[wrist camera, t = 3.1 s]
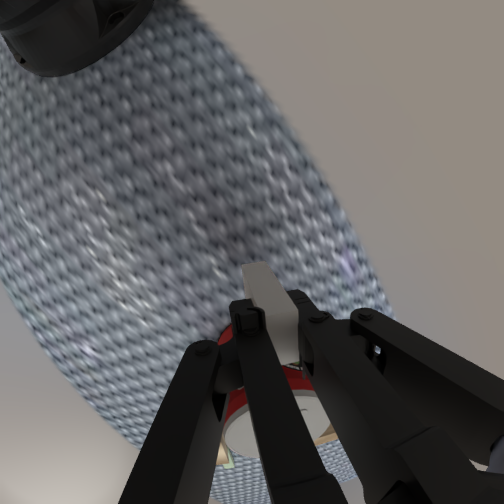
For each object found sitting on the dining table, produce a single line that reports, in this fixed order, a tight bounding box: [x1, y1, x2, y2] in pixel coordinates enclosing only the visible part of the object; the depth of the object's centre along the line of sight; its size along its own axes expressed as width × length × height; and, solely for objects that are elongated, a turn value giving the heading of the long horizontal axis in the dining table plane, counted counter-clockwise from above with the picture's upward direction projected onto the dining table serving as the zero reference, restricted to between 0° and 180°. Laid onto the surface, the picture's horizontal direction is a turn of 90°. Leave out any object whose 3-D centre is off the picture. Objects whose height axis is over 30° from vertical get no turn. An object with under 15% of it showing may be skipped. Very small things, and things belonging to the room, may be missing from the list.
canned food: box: [217, 324, 331, 458], centre depth 21 cm, size 8×8×11 cm
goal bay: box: [223, 446, 235, 469], centre depth 31 cm, size 6×14×2 cm, turn 96°
